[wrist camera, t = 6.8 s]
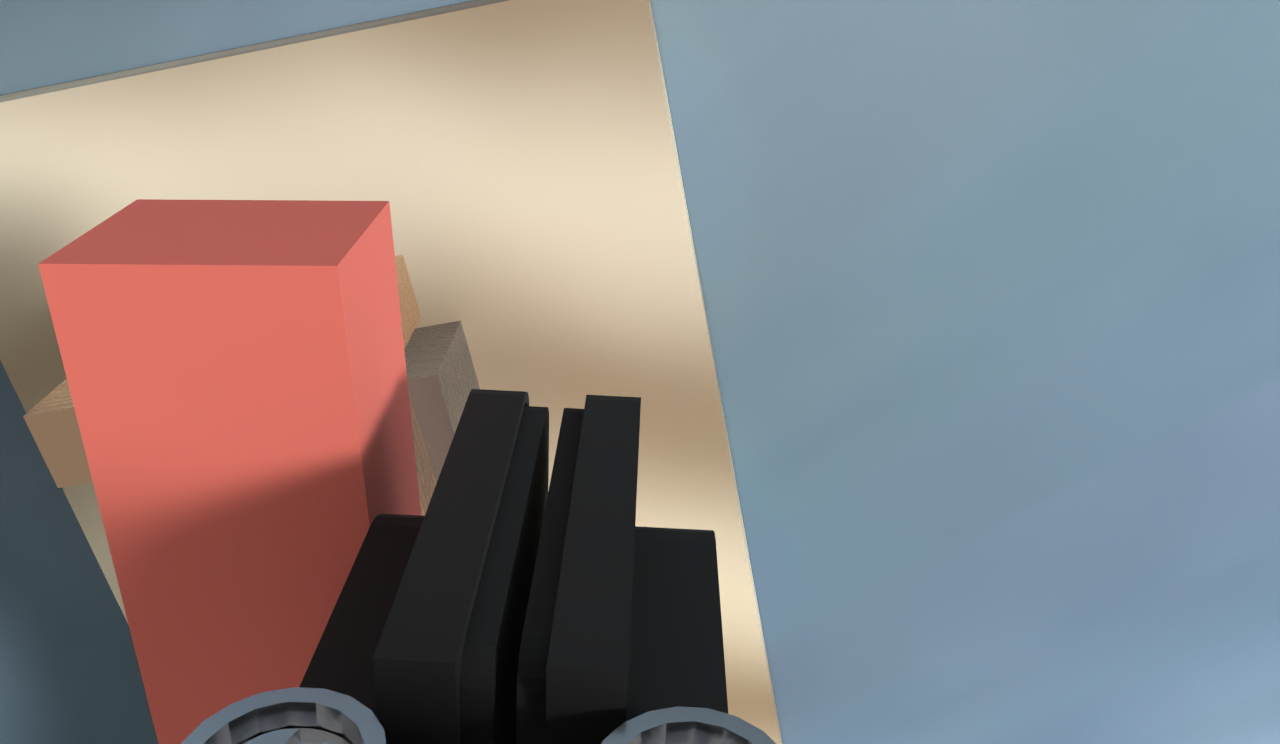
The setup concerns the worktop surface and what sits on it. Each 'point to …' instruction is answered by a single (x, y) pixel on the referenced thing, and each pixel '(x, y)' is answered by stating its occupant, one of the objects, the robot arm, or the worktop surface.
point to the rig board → (433, 222)
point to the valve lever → (235, 427)
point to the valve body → (433, 385)
